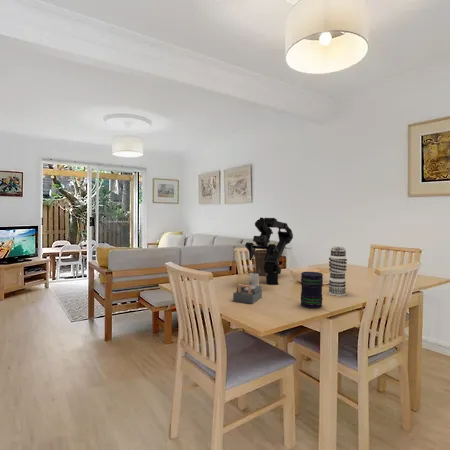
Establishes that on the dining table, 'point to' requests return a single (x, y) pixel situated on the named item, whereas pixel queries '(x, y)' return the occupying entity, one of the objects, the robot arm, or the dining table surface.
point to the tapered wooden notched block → (253, 281)
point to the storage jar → (311, 289)
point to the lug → (244, 286)
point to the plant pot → (260, 261)
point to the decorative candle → (337, 271)
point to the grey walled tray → (247, 295)
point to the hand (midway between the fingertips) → (257, 261)
